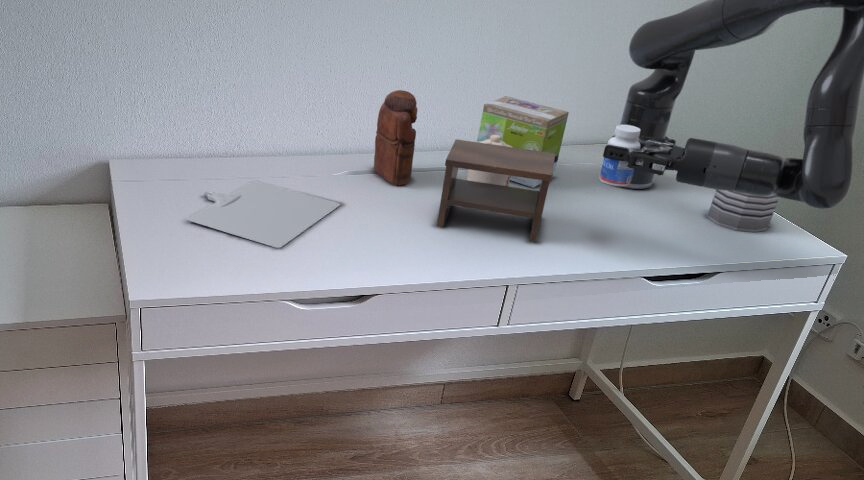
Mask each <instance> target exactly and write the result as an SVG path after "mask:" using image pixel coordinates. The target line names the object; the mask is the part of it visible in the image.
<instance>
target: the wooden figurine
mask: <svg viewBox="0 0 864 480" xmlns="http://www.w3.org/2000/svg"><path fill="white" fill-rule="evenodd" d="M417 119H418V107H417V100H416V96H415V95H414V94H412V93H411V92H409V91H407V90H402V89H399V90H394V91H391V92H389V94H387V95H386V96H385V98H384V101H383V103H382V104H381V106H380V108H379V112H378V116H377V123H376V132H375V139H374V157H373V169H374V173H376V174H377V175H379V176H380V177H382V178H383V179H384V180H386V181H387V182H388V183H390V184H391V185H393V186H404V185H406V184H408V183H409V182H410V181H411V177H412V172H413V171H412V170H413V162H414V154H415V147H416V146H415V145H416V144H415V143H416V137H417V131H416V129H415V128H413V124H415V123H416V122H417Z"/></svg>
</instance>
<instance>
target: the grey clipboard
mask: <svg viewBox="0 0 864 480" xmlns="http://www.w3.org/2000/svg"><path fill="white" fill-rule="evenodd" d="M203 196H204V197H207V199H208V200H209V201H212V202H213V203H211V204H209V205H207V206H206V207H204V208H202V209H200V210H199V211H197V212H195V213H194V214H191V215H190V216H189V217H187V218H186V220H187V221H188V222H192V223H195V224H197V225H201V226H203V227H207V228H211V229H214V230H217V231H220V232H224V233H226V234H227V233H228V234H230V235H233V236H237V237H240V238H244V239H247V240H250V241H253V242H257V243H259V244H262V245H266V246H269V247H272V248H277V249H281V248H282V247H284V246H285V245H287V244H288V243H289V242H291V241H292V240H293V239H295V238H297V236H299V235H300V234H302V233H303V232H305V231H306V230H308V229H309V228H311V227H312V226H313V225H315V224H316V223H317V222H319V221H320V220H321V219H323V218H325V217H326V216H327V215H329V214H330V213H332V212H333V211H334V210H336V209H337V208H339V207H340V206H341V203H339V202H336V201H333V200H330V199H329V200H328V199H325V198H321V197H318V196H315V195H311V194H307V193H304V192H300V191H296V190H293V189H290V188H286V187H282V186H278V185H275V184H271V183H267V182H264V181H260V180H252V181H250V182H249V183H247V184H245V185H243V186H241V187H239V188H238V189H236V190H234V191H233V192H231V193H221V192H217V191H211V192H208V191H204V192H203Z"/></svg>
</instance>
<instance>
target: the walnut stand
mask: <svg viewBox="0 0 864 480" xmlns="http://www.w3.org/2000/svg"><path fill="white" fill-rule="evenodd" d="M554 159H555V153H550V152H542V151H535V150H528V149H521V148H514V147H507V146H500V145H493V144H486V143H479V142H477V141H471V140H463V139H457V138H456V139H455V140H454V142H453V144H452V146H451V148H450V150H449V152H448V154H447V157H446V159H445V163H444V166H445V172H444V177H443V184H442V190H441V196H440V202H439V209H438V215H437V221H436V227H439V228H444V226H445V223H446V221H447V219H448V216H449V214H450V212H451V208H452V206H453V207H459V208H464V209H465V208H466V209H472V210H479V211H483V212H484V211H485V212H491V213H498V214H503V215H509V216H516V217H524V218H528V219H532V224H531V228H530V235H529V240H528V241H529V242H530V243H537V239H538V235H539V230H540V226H541V221H542V218H543V217H542V216H543V213H544V209H545V203H546V199H547V194H548V190H549V187H550V182H552V178H553V177H552V174H553V166H554ZM459 169H464V170H468V169H470V170H477V171H483V172H490V173H497V174H503V175H510V176H517V177H524V178H530V179H537V180H541V184H539V190H533V189H527V188H520V187H516V186H515V187H514V186H509V187H508V186H502V185H495V184H489V183H482V182H475V181H469V180H466V179H462V178H457V177H458V171H459Z"/></svg>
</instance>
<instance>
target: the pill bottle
mask: <svg viewBox="0 0 864 480" xmlns="http://www.w3.org/2000/svg"><path fill="white" fill-rule="evenodd" d="M640 131H641V130H640V129H639V128H638V127H635V126H631V125H620V124H617V125H616V126H615V130H614V136H615V137H613V138H612V137H611V138H610V139H609V140H608V142H607V144H606V145H614V146H620V147H625V148H628V150H629V149H630V148H633V149H640V143H639V142H638V141H637V139H638V138H639V135H640ZM627 165H628V164H626V163H625V162H624V161H619V160H614V159H608V158H604V157H603V161H602V164H601V168H600V173H599V180H600V182H602V183H603V184H605V185H609V186H613V187H621V186H627V185H629V184H630V182H631V180H632V176H633V173H634V169H633V168H629V167H627Z"/></svg>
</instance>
